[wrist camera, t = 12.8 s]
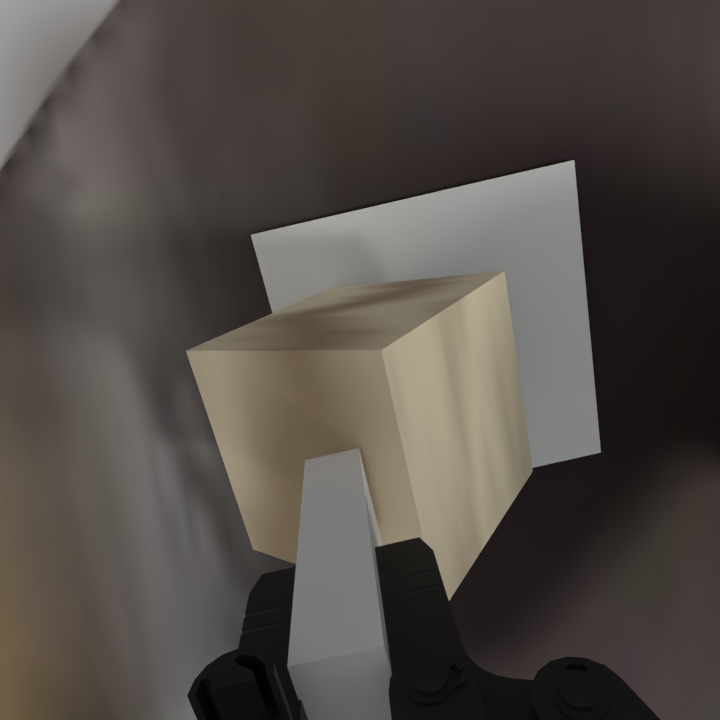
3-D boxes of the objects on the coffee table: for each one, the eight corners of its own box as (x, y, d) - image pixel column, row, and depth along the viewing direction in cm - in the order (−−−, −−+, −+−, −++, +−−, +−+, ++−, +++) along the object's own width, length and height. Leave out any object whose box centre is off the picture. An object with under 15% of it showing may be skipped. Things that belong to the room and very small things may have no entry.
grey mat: (571, 160, 22) (574, 160, 22) (598, 449, 26) (600, 452, 26) (251, 234, 23) (250, 234, 22) (327, 509, 27) (327, 513, 26)
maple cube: (185, 350, 17) (336, 285, 23) (253, 549, 20) (374, 444, 26) (381, 349, 12) (508, 267, 18) (439, 615, 15) (536, 466, 21)
